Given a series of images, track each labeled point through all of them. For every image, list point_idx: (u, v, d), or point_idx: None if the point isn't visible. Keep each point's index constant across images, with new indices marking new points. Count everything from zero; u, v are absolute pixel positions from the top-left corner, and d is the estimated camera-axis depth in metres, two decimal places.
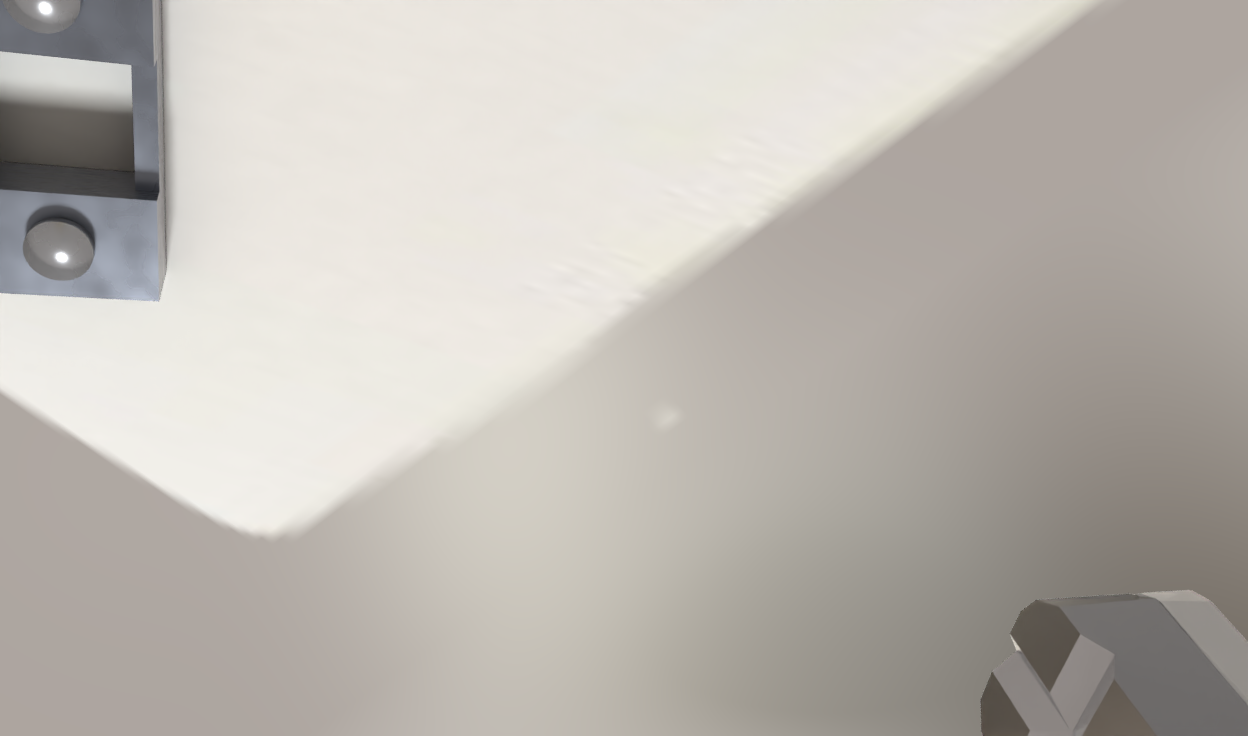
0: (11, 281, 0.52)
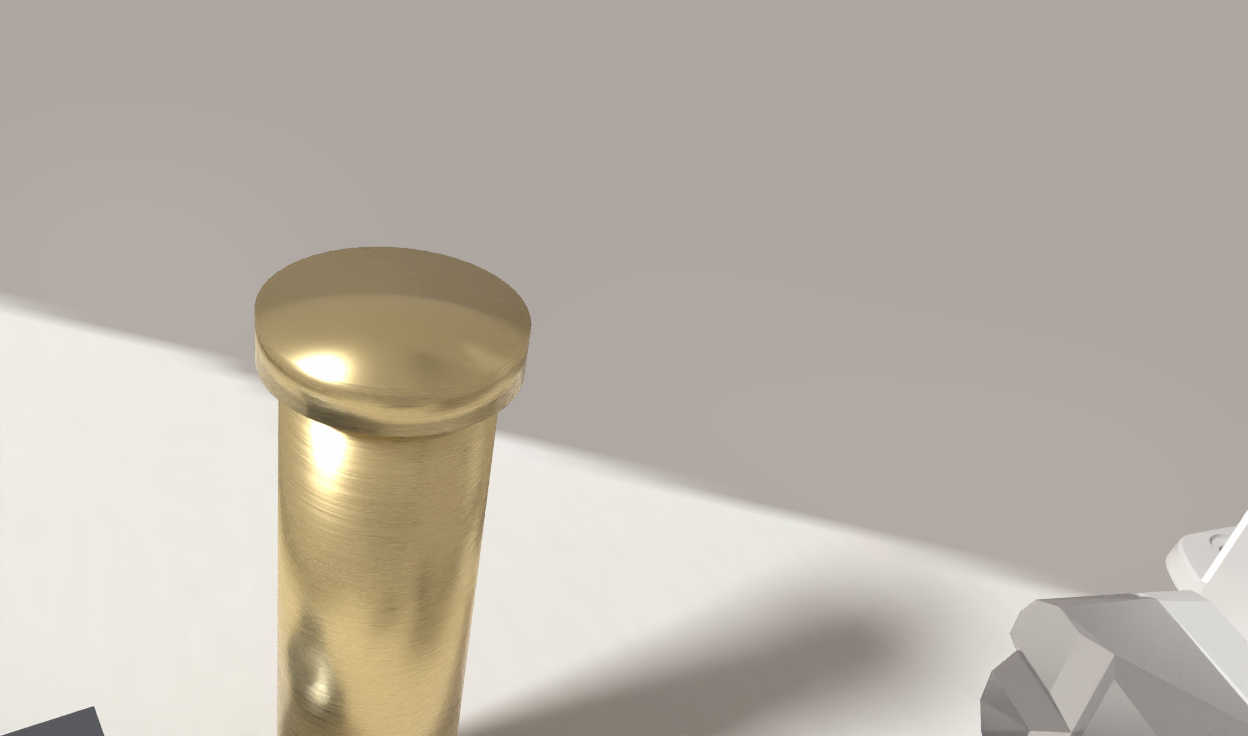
0: None
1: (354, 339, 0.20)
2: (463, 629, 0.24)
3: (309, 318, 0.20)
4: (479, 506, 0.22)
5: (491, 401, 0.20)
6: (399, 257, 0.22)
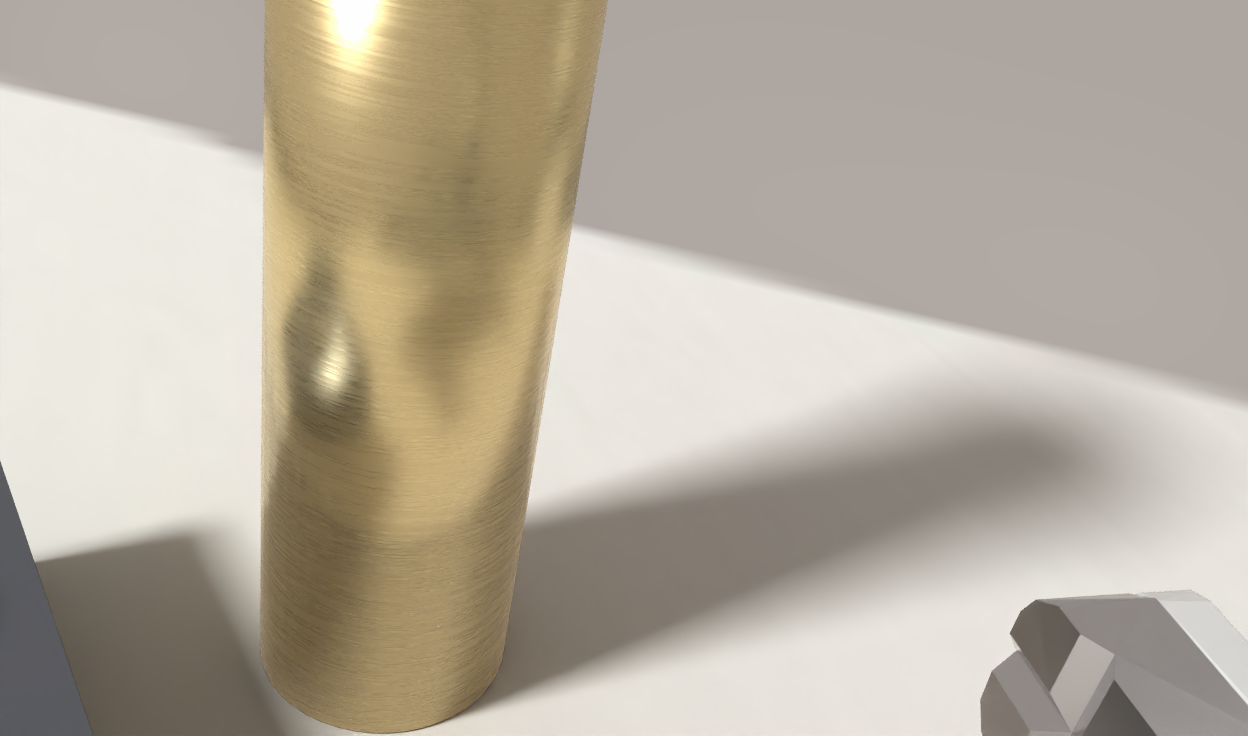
0: None
1: None
2: (561, 240, 0.15)
3: None
4: None
5: None
6: None
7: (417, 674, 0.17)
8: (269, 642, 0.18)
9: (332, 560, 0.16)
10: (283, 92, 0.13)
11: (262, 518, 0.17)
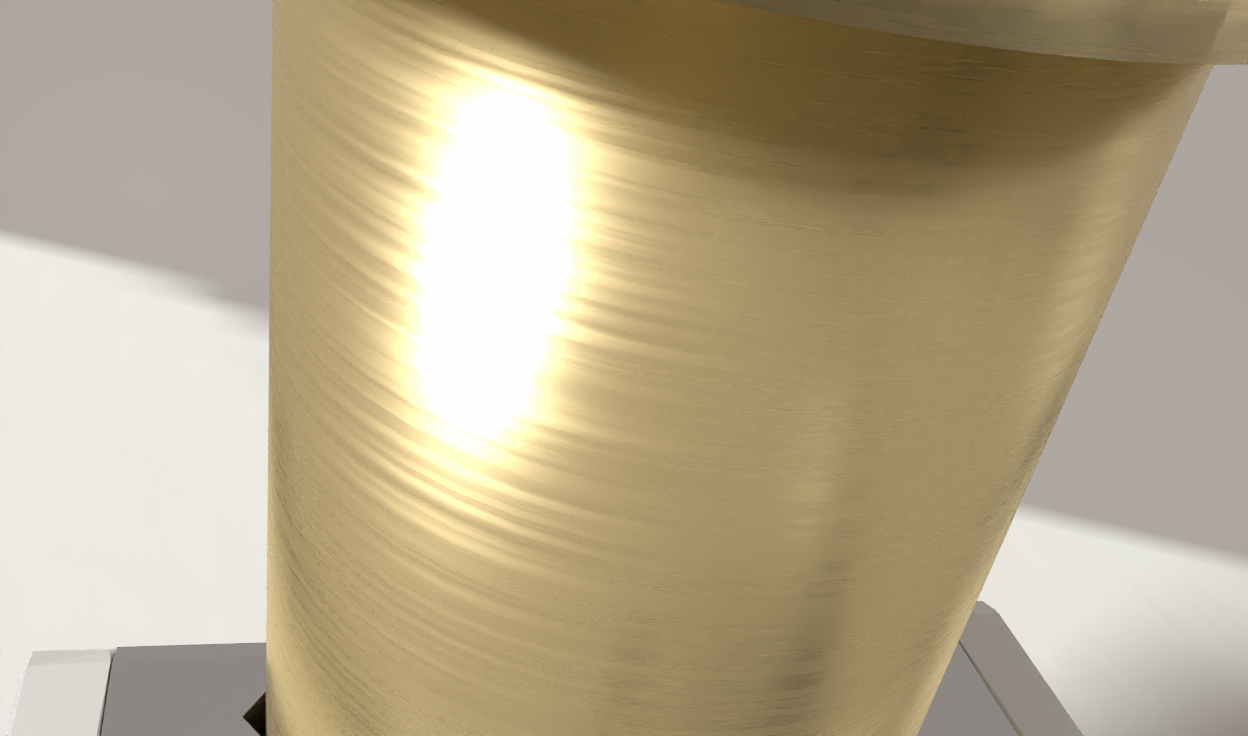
0: None
1: None
2: None
3: None
4: None
5: None
6: None
7: None
8: None
9: None
10: None
11: None
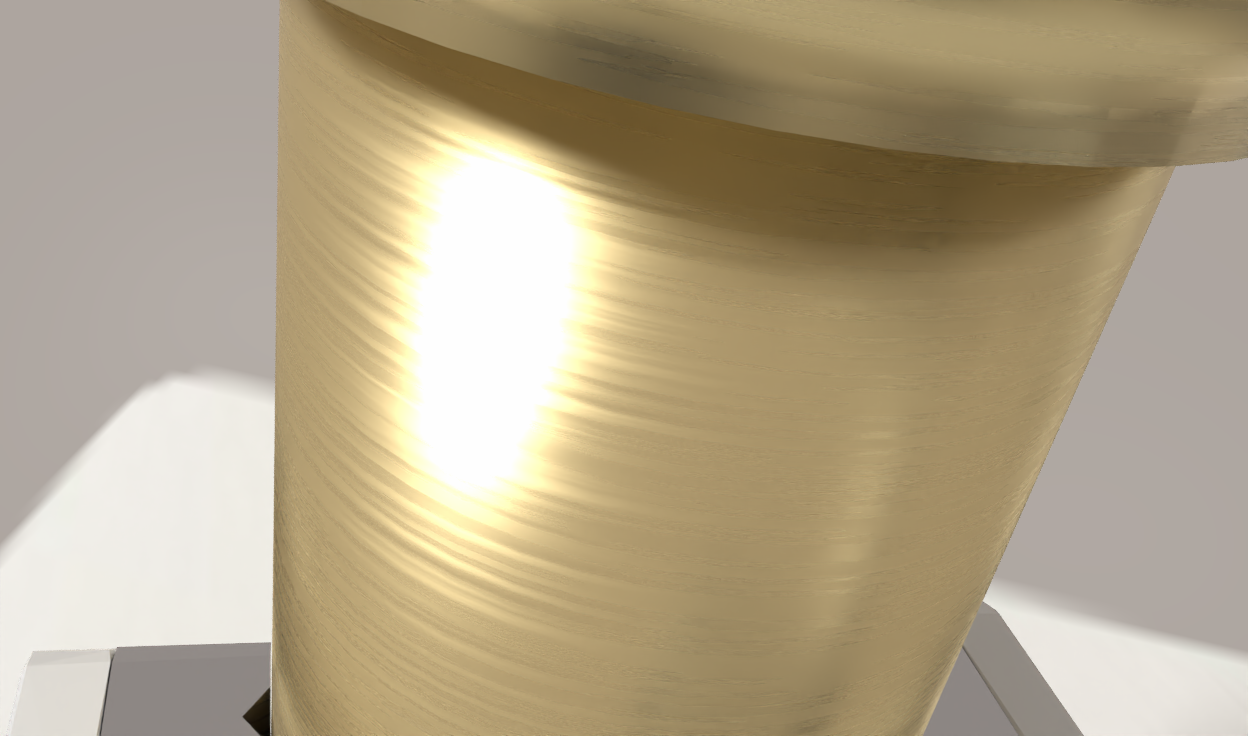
0: None
1: None
2: None
3: None
4: None
5: None
6: None
7: None
8: None
9: None
10: None
11: None
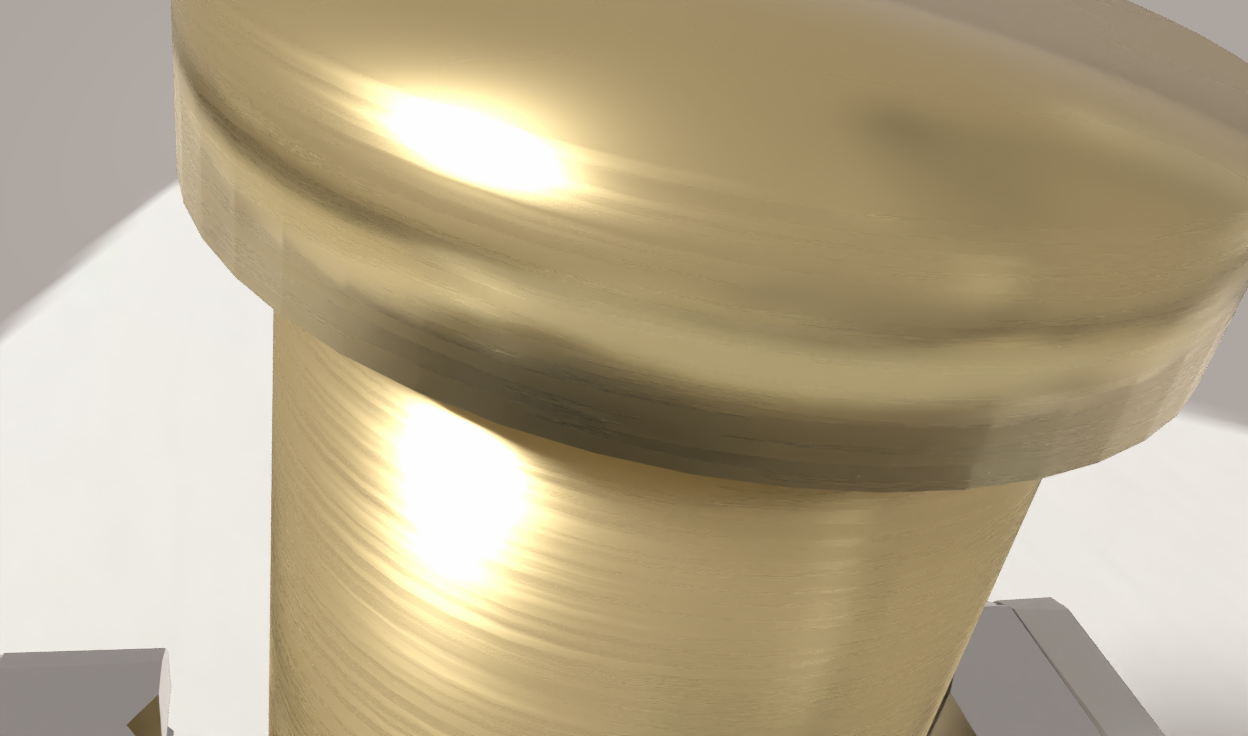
0: None
1: (631, 28, 0.04)
2: None
3: None
4: None
5: None
6: None
7: None
8: None
9: None
10: None
11: None
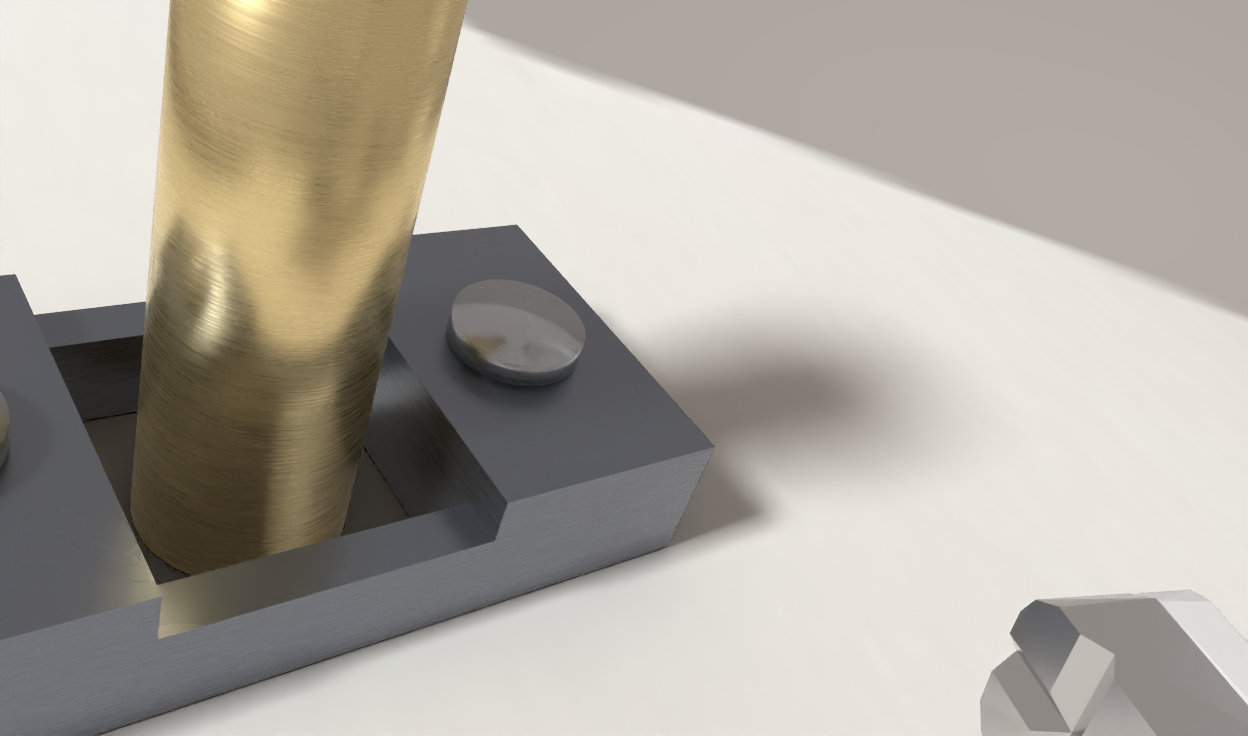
0: None
1: None
2: (413, 194, 0.18)
3: None
4: None
5: None
6: None
7: (266, 538, 0.21)
8: (139, 501, 0.21)
9: (198, 439, 0.19)
10: (183, 53, 0.16)
11: (140, 397, 0.20)
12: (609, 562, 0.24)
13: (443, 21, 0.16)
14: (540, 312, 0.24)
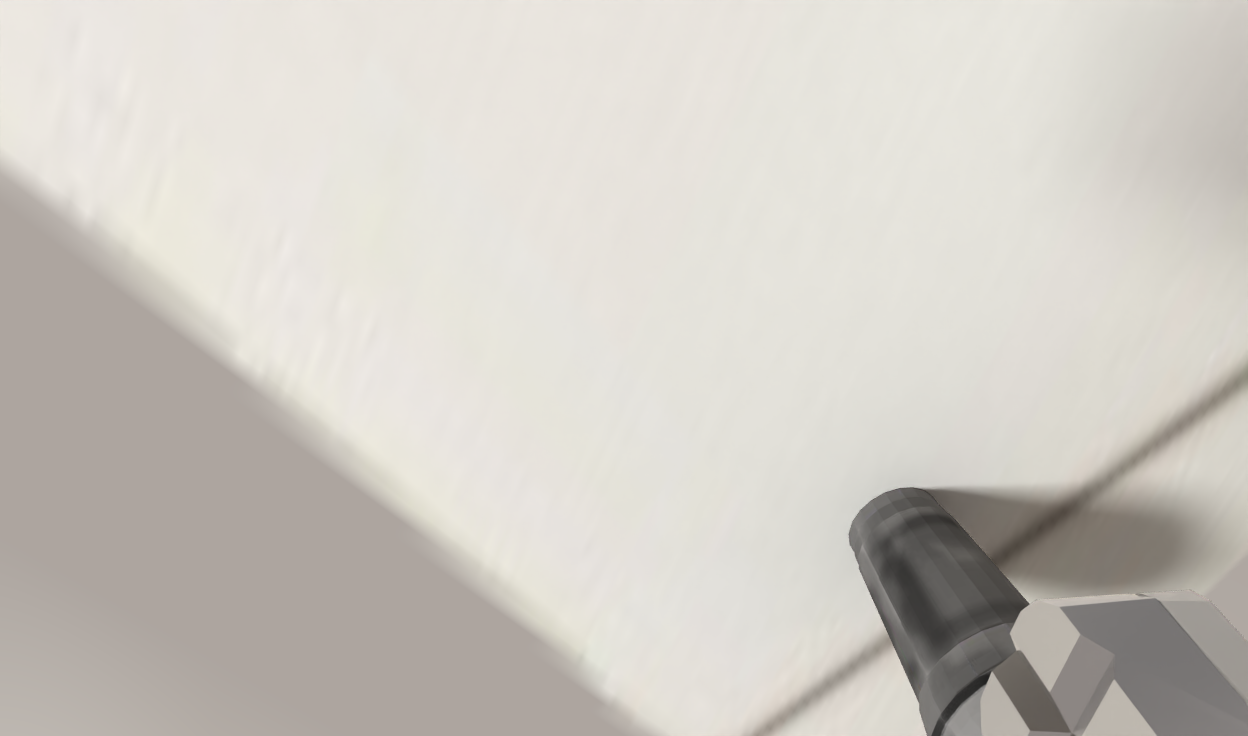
0: None
1: None
2: None
3: None
4: None
5: None
6: None
7: None
8: None
9: None
10: None
11: None
12: None
13: None
14: None
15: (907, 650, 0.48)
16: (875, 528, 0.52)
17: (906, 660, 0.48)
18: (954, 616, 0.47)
